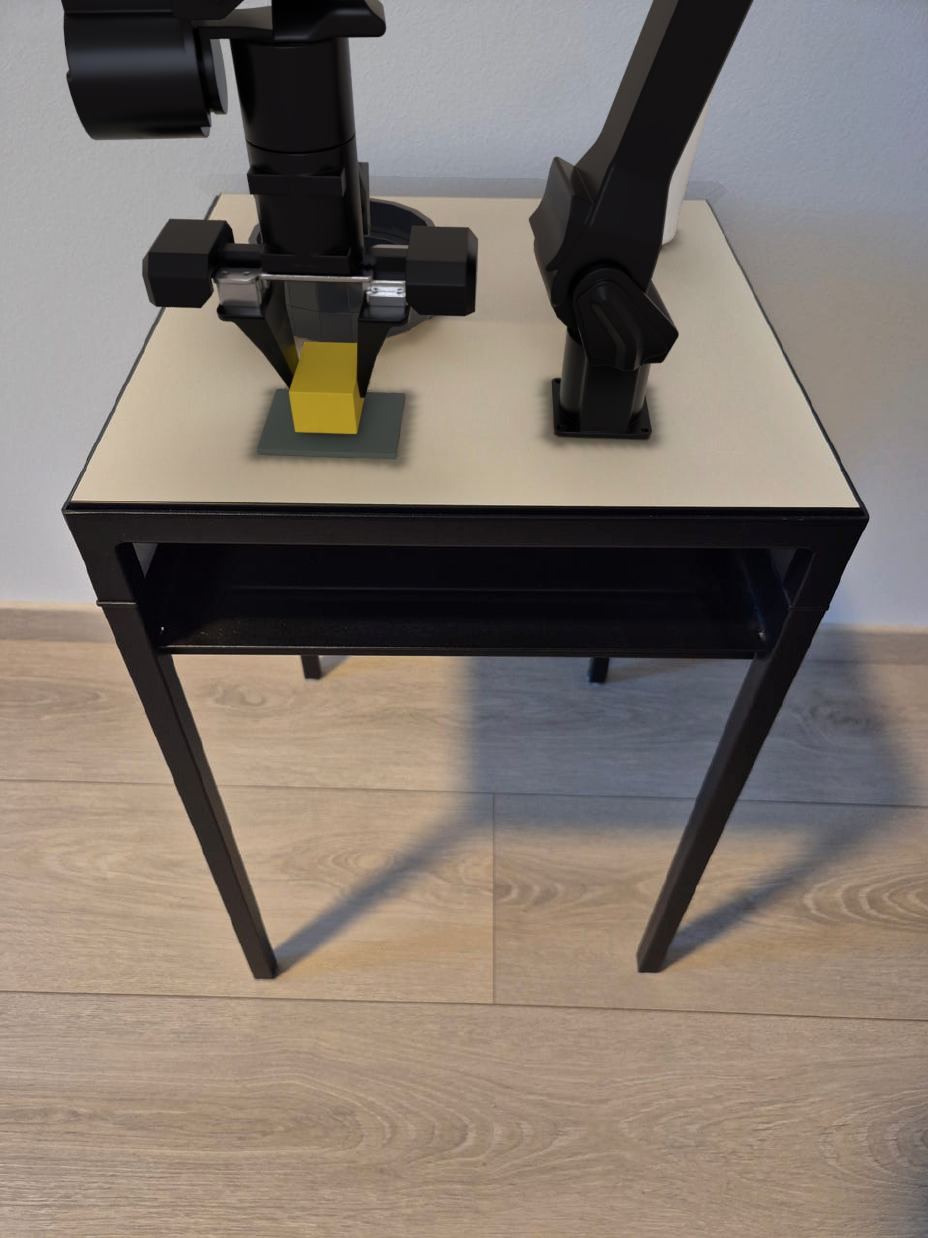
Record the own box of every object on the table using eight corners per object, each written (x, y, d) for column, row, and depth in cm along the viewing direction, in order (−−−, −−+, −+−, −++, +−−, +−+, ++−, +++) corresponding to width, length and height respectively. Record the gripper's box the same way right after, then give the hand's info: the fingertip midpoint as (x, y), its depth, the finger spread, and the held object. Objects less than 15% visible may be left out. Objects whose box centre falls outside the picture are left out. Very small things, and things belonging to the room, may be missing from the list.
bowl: (433, 353, 64) (432, 282, 60) (244, 347, 65) (230, 276, 61) (443, 265, 74) (443, 199, 70) (278, 260, 74) (269, 193, 70)
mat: (395, 459, 56) (395, 454, 55) (257, 454, 56) (256, 449, 56) (405, 397, 60) (404, 392, 60) (277, 393, 61) (276, 388, 60)
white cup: (681, 256, 76) (721, 59, 64) (604, 248, 76) (630, 52, 65) (683, 223, 80) (721, 34, 69) (610, 216, 81) (636, 28, 70)
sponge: (357, 434, 55) (353, 393, 53) (294, 432, 55) (288, 391, 53) (367, 382, 59) (364, 342, 57) (309, 380, 59) (304, 340, 57)
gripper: (483, 87, 50) (477, 333, 62) (164, 78, 50) (217, 325, 62) (478, 160, 43) (472, 425, 54) (103, 150, 43) (176, 416, 54)
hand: (331, 393), depth 56 cm, fingers closed on sponge, 4 cm apart
